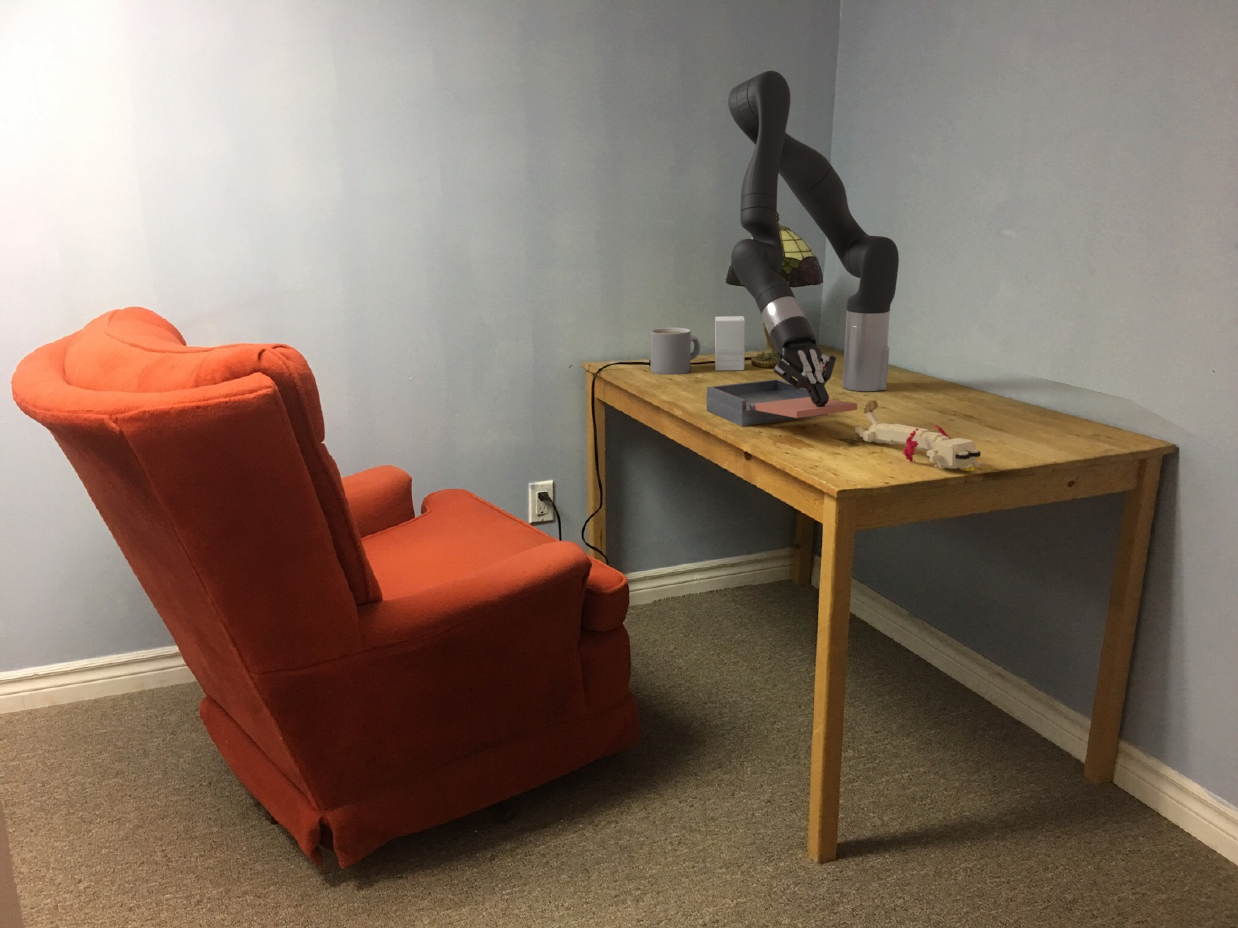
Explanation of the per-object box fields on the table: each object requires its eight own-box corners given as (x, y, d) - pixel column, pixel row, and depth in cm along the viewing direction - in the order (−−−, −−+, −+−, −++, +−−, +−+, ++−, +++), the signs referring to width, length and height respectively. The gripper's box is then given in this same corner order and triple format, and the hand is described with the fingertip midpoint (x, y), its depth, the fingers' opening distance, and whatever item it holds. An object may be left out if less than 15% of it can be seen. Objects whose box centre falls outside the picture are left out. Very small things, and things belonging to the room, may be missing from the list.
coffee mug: (658, 375, 223) (658, 334, 220) (645, 368, 232) (645, 329, 230) (709, 371, 227) (709, 331, 224) (694, 364, 236) (695, 325, 233)
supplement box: (743, 365, 234) (744, 315, 231) (744, 371, 227) (745, 320, 224) (714, 365, 235) (715, 315, 231) (714, 371, 228) (715, 320, 224)
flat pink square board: (749, 403, 175) (794, 411, 162) (810, 395, 181) (859, 403, 167) (749, 413, 176) (794, 422, 162) (810, 405, 181) (859, 413, 167)
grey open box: (706, 410, 189) (706, 386, 187) (776, 402, 195) (777, 378, 193) (741, 426, 176) (742, 400, 175) (815, 416, 183) (816, 391, 181)
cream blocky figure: (843, 450, 164) (953, 476, 143) (843, 402, 162) (954, 421, 141) (885, 442, 169) (997, 466, 147) (885, 396, 167) (999, 412, 145)
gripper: (765, 317, 167) (801, 396, 159) (826, 312, 172) (863, 389, 164) (749, 341, 173) (783, 419, 166) (808, 336, 178) (843, 411, 171)
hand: (823, 404), depth 165 cm, fingers closed
